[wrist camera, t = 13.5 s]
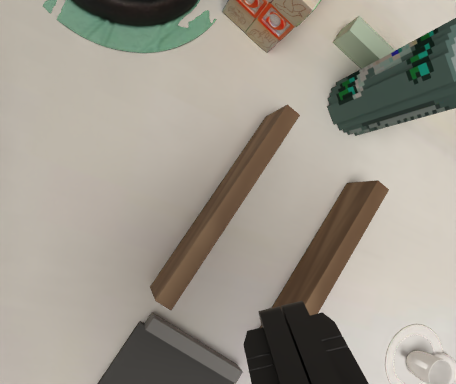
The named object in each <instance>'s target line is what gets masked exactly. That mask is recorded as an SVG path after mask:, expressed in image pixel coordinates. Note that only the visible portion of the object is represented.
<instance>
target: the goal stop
mask: <svg viewBox="0 0 456 384" xmlns="http://www.w3.org/2000/svg"><path fill="white" fill-rule="evenodd" d="M333 43H334V44H335V45H336V46H337V47H338V48H339V49H340V50H342V51H343V52H344V53H345V54H346V55H347V56H348V57H349V58H350V59H351V60H352V61H354V62H355V63H356V64H357V65H358V66H359V67H360V68H361V69H363V68H364V67H366V66H368V65H370V64H372V63H374V62H375V61H377V60H379V59H381V58H383V57H385V56H387V55H388V54H390V53H392V52H394V51H395V50H394V49H393V48H392V47H391V46H390V45H389V44H388V43H387V42H386V41H385V40H384V39H383V38H382V37H381V36H380V35H379V34H377V33H376V32H375V31H374V30H373V29H372V28H371V27H370V26H369V25H368V24H367V23H366V22H365V21H364V20H363V19H362V18H361V17H360V16H358V17H357V18H356V19H354V20H353V21H352V22H350V23H349V24H348V25H346V26H345V27H344V28H343V29H342V30H341V31H340V33H339V34H338V36H337V37H336V39H335V40H334V42H333Z"/></svg>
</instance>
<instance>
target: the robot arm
mask: <svg viewBox="0 0 456 384" xmlns="http://www.w3.org/2000/svg"><path fill="white" fill-rule="evenodd" d="M259 315H260V320H261V325H262V328H258V329H254V330H250V331H247V334H246V338H245V341H244V349H245V353H246V358H247V363H248V368H249V372H250V377H251V382H252V384H368V382H367V380H366V378H365V376H364V375H363V373H362V371H361V369H360V367H359V365H358V364H357V362H356V360H355V358H354V356H353V355H352V353H351V351H350V349H349V348H348V346H347V344H346V342H345V340H344V338H343V337H342V335H341V333H340V331H339V329H338V327H337V325H336V324H335V322H334V321H333V320H331V319H330V318H329V317H327V316H326V315H325V314H324V313H319V314H314V315H309V313H308V311H307V308H306V306H305V304H304V302H303V301H299V302H294V303H290V304H286V305H282V306H281V308H280V306H278V307H274V308H270V309H266V310H262V311H259Z"/></svg>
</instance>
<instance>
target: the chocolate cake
mask: <svg viewBox="0 0 456 384" xmlns="http://www.w3.org/2000/svg"><path fill="white" fill-rule="evenodd" d="M199 1H200V0H66V1H65V4H64V6H63V7H62V10H61V13H60V14H59V15H58V18H57V20H58V21H59V22H61V23H62V24H63V25H65V26H66V27H68V28H69V29H71V30H72V31H74V32H75V33H77V34H78V35H80V36H82V37H83V38H85V39H88V40H90V41H92V42H94V43H97V44H99V45H102V46H105V47H108V48H112V49H117V50H122V51H128V52H139V53H151V52H160V51H165V50H169V49H172V48H175V47H178V46H181V45H183V44H185V43H187V42H189V41H191V40H193V39H195V38H197V37H198V36H200V35H201V34H202V33H204V32H205V31H206V30H207V29H208V28H209V27H210V26H211V25H212V24H213V23H214V22H215V21H216V20H217V19H214V21H213V23H211V22H210V19H209V11H208V10H207V11H204V12H203V13H202V14H201V15H200V16H198V17H196V18H195V19H194V20H193V21H190V22H189V27H188V28H184V27H180V26H178V24H179V22H180V21H181V20H182V19H183V18H184V17H185V16H186V15H187V14H189V13H190V12H191V11H192V10H193V9H194V8H195V7H196V6H197V4H198V3H199ZM56 2H57V0H48V1H46V2H45V3H44V4H43V7H44V8H45V9H46V10H47V11H48V12H49V13H51V11H52V8H53V6H55V5H56Z"/></svg>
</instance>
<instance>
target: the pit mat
mask: <svg viewBox="0 0 456 384" xmlns="http://www.w3.org/2000/svg"><path fill="white" fill-rule="evenodd" d="M241 374H242V370H241V369H240V368H239V366H238V365H237V364H235V363H233V362H232V361H230V360H229V359H227V358H225V357H224V356H222V355H220V354H219V353H217V352H215V351H214V350H212V349H211V348H209V347H207V346H206V345H204V344H202V343H201V342H199V341H198V340H196V339H194V338H193V337H191V336H189V335H188V334H186V333H184V332H183V331H181V330H180V329H178V328H176V327H175V326H173V325H171V324H170V323H168V322H166V321H165V320H163V319H162V318H160V317H158V316H157V315H155V314H153V313H151V315H150V316H149V318H148V319H147V321H146V322H145V324H143V323H141V322H139V323H138V325H137V326H136V328H135V329H134V331H133V332H132V334H131V335H130V337H129V338H128V340H127V341H126V342H125V344H124V345H123V347H122V348H121V350H120V351H119V353H118V354H117V356H116V357H115V359H114V360H113V362H112V363H111V365H110V366H109V368H108V369H107V371H106V372H105V374H104V375H103V377H102V378H101V380H100V381H99V383H98V384H234V383H235V384H236V382H237V381H238V379H239V377H240V376H241Z"/></svg>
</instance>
